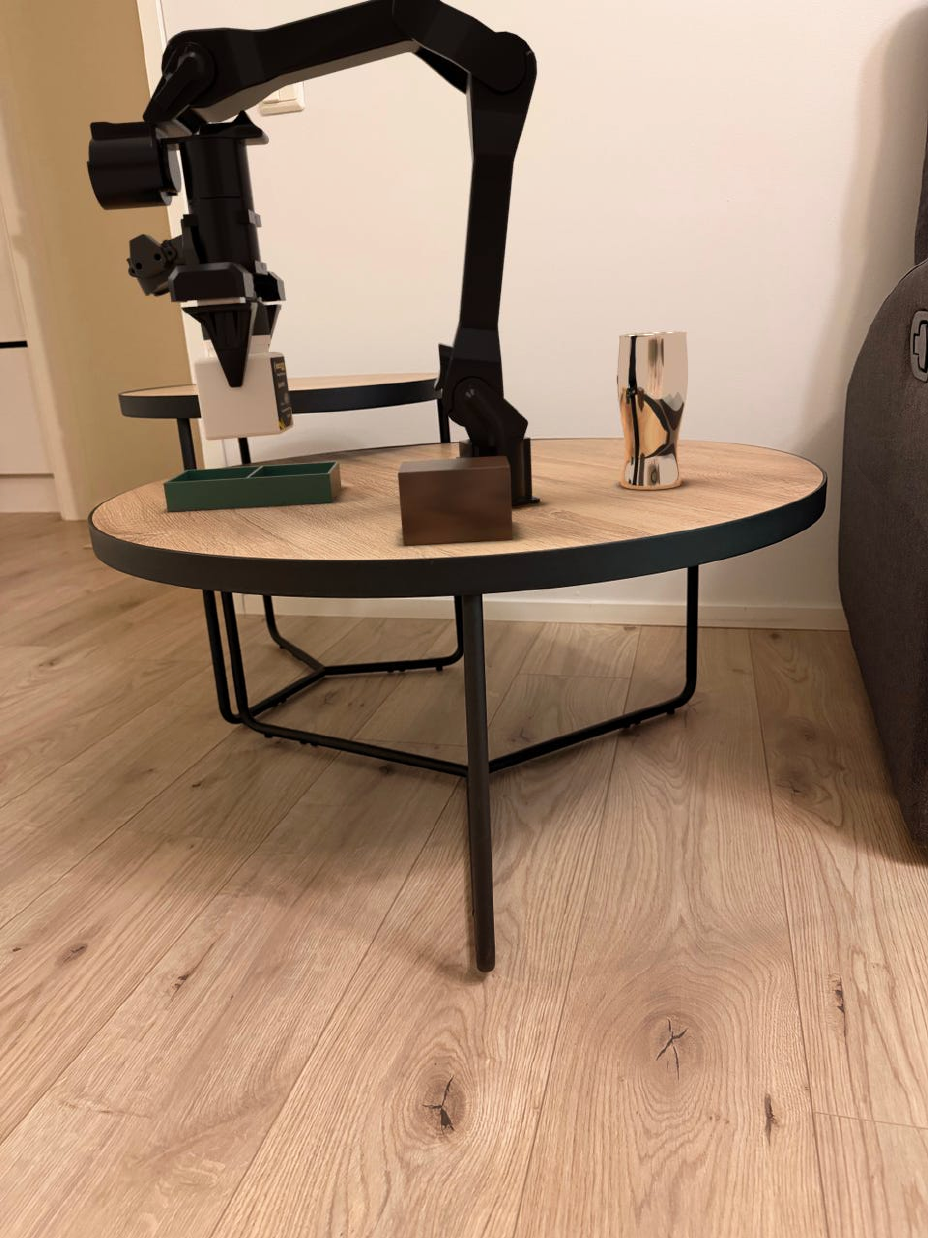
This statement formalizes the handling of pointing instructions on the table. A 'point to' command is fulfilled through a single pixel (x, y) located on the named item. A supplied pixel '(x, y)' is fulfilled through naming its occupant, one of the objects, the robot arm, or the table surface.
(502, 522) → the walnut stand
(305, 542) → the table surface
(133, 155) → the robot arm
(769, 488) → the table surface
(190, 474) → the divided tray
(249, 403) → the medicine bottle
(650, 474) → the beer glass
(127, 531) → the table surface
